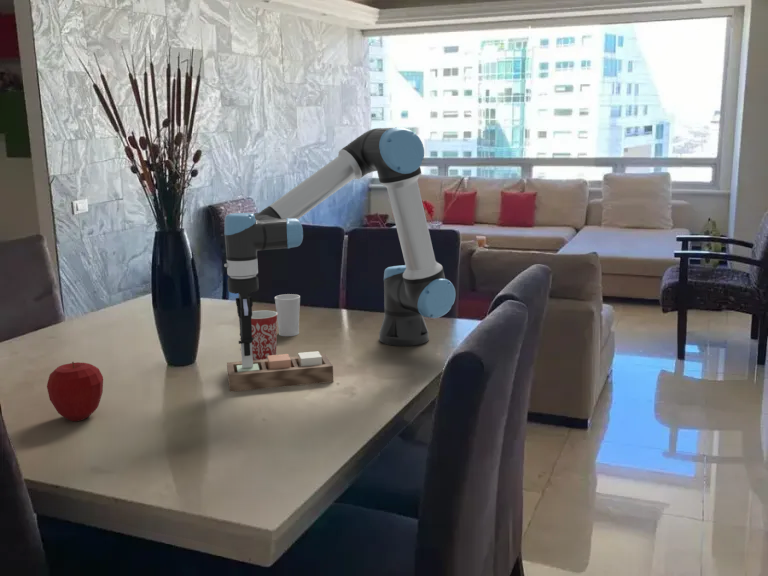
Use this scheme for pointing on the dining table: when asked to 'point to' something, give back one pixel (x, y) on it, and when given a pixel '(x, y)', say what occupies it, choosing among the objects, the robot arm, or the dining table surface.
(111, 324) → the dining table surface
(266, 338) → the mug
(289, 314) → the cup
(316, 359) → the key ivory
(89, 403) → the apple
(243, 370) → the key sage
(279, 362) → the key terracotta
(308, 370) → the wooden compartment tray
